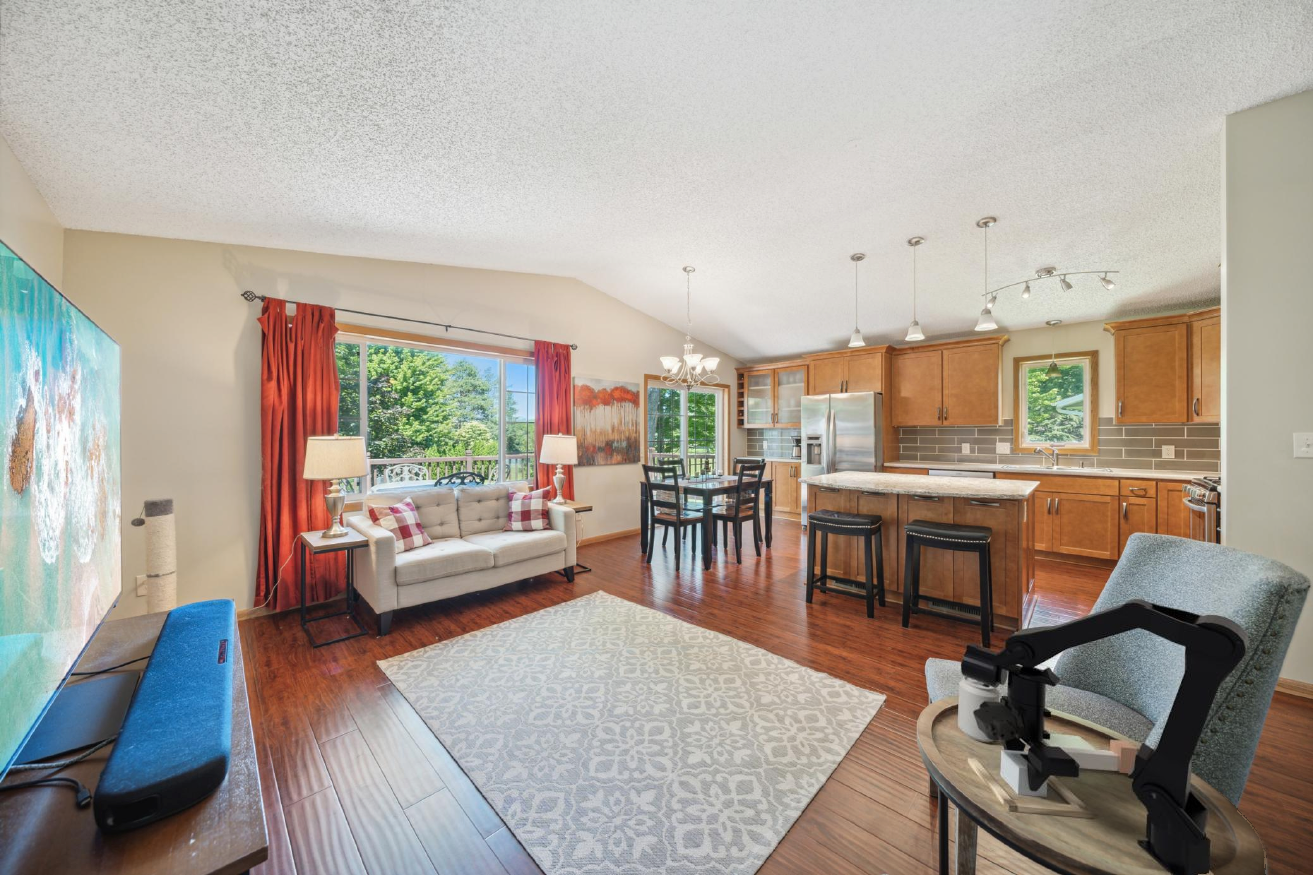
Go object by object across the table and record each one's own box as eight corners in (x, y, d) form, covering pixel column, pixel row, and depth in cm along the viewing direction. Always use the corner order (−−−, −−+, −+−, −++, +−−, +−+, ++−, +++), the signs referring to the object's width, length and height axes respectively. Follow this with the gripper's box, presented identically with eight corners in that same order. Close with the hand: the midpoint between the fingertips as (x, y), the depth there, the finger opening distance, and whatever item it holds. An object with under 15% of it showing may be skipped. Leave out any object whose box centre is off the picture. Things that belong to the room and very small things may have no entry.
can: (1004, 747, 102) (1006, 691, 102) (966, 741, 103) (968, 686, 103) (988, 726, 109) (989, 674, 109) (952, 721, 110) (953, 670, 111)
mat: (1114, 765, 97) (1114, 763, 97) (1067, 761, 98) (1067, 759, 98) (1078, 737, 106) (1078, 735, 106) (1036, 734, 107) (1036, 732, 107)
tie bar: (1136, 773, 94) (1137, 748, 94) (1032, 765, 95) (1033, 740, 95) (1125, 765, 96) (1126, 740, 96) (1024, 757, 98) (1025, 733, 98)
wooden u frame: (1093, 818, 83) (1093, 812, 83) (1008, 811, 84) (1009, 805, 84) (1040, 768, 95) (1040, 763, 95) (967, 762, 96) (967, 757, 96)
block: (1046, 796, 88) (1047, 769, 88) (1018, 794, 88) (1019, 767, 88) (1027, 777, 92) (1028, 751, 93) (1000, 775, 93) (1001, 749, 93)
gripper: (954, 671, 100) (951, 745, 100) (1015, 724, 81) (1011, 815, 81) (1009, 675, 99) (1007, 749, 99) (1083, 729, 81) (1080, 821, 81)
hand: (1023, 780), depth 90 cm, fingers closed on block, 5 cm apart
